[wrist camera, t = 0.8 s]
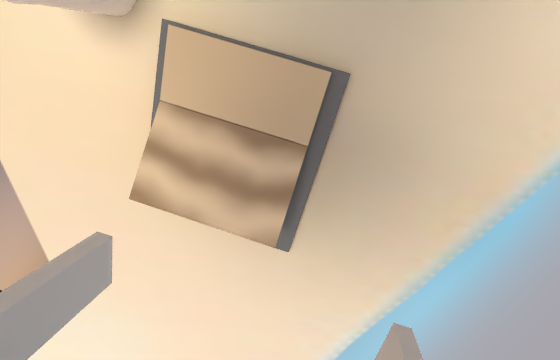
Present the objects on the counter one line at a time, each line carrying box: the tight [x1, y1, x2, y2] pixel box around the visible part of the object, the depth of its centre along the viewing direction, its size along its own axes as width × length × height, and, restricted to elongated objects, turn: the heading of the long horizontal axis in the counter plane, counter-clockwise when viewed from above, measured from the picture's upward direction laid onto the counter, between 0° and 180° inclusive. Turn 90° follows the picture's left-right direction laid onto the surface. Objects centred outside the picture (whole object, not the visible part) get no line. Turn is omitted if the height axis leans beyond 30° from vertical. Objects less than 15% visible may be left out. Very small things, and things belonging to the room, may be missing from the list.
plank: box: [129, 101, 307, 248], centre depth 32 cm, size 12×18×2 cm, turn 74°
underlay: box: [151, 19, 350, 252], centre depth 33 cm, size 24×22×3 cm
